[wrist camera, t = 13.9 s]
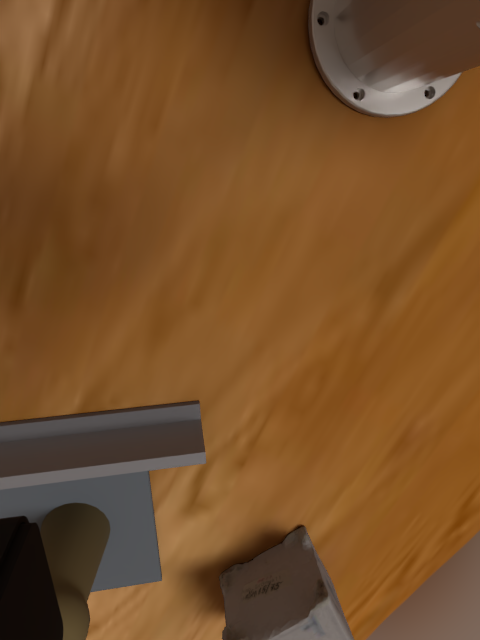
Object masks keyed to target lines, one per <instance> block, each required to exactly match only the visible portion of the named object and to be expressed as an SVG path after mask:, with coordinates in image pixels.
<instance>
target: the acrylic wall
mask: <svg viewBox="0 0 480 640" xmlns="http://www.w3.org/2000/svg"><path fill="white" fill-rule="evenodd" d="M204 463H206V455H205V447H204V439H203V432H202V425H201V416H200V404H199V401H192V402H183V403H174V404H165V405H156V406H147V407H137V408H128V409H119V410H110V411H101V412H92V413H83V414H74V415H65V416H56V417H47V418H38V419H29V420H20V421H11V422H2V423H0V490H2V489H10V488H18V487H26V486H33V485H41V484H49V483H57V482H64V481H72V480H80V479H88V478H95V477H103V476H111V475H119V474H127V473H134V472H142V471H150V470H158V469H165V468H173V467H181V466H189V465H196V464H204Z"/></svg>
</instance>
